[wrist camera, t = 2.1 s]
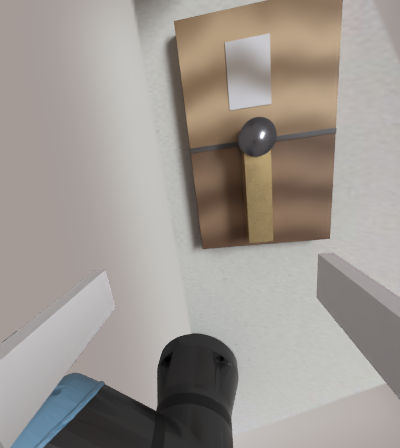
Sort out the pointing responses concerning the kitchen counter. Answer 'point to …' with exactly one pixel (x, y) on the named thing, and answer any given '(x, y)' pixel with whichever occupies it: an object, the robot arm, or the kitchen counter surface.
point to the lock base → (263, 112)
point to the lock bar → (257, 177)
